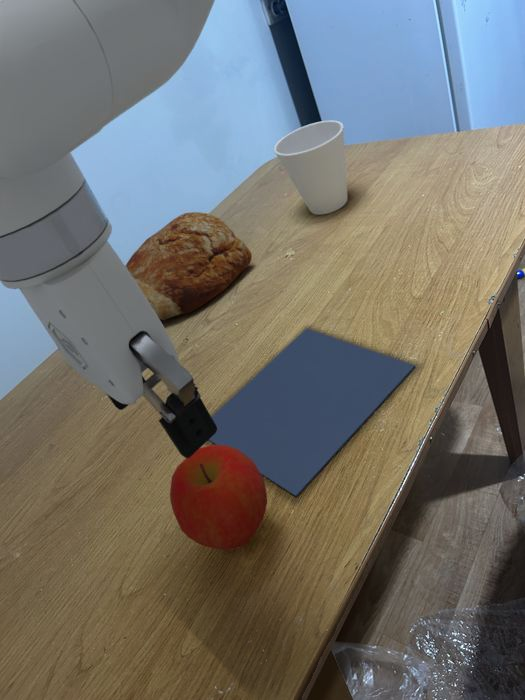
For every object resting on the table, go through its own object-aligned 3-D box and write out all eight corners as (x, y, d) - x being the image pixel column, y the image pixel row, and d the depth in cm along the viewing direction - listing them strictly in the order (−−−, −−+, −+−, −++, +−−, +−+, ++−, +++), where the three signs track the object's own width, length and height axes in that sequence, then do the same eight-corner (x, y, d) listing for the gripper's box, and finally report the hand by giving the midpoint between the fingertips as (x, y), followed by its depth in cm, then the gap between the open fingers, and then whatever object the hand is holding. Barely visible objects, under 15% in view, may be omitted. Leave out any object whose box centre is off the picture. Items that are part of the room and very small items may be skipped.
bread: (259, 265, 94) (237, 211, 88) (178, 335, 86) (147, 281, 80) (187, 248, 108) (163, 201, 102) (112, 307, 101) (81, 259, 95)
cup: (287, 226, 101) (263, 160, 93) (308, 191, 108) (287, 128, 101) (351, 218, 95) (331, 146, 87) (369, 182, 102) (351, 114, 95)
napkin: (415, 367, 64) (415, 365, 64) (296, 497, 56) (295, 495, 56) (307, 329, 76) (306, 328, 76) (197, 433, 68) (196, 431, 68)
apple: (273, 583, 50) (226, 512, 44) (190, 574, 54) (135, 507, 47) (296, 499, 56) (257, 425, 50) (219, 496, 60) (175, 427, 53)
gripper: (-50, 245, 40) (78, 411, 50) (50, 300, 28) (192, 505, 38) (40, 189, 43) (144, 357, 53) (167, 216, 31) (270, 428, 41)
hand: (164, 419), depth 45 cm, fingers open, 9 cm apart
